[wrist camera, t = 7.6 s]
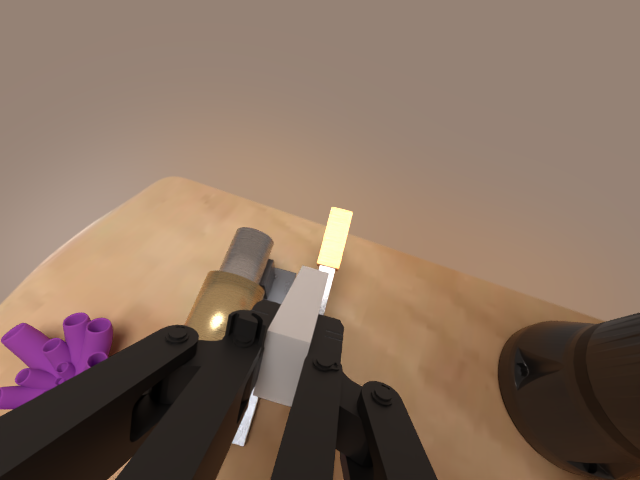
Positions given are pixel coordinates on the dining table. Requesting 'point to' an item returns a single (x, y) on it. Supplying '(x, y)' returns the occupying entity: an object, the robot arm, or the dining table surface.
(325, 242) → the lever
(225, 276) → the valve stand
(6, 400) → the purple tube coral
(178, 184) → the dining table surface
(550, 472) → the dining table surface
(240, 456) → the dining table surface
